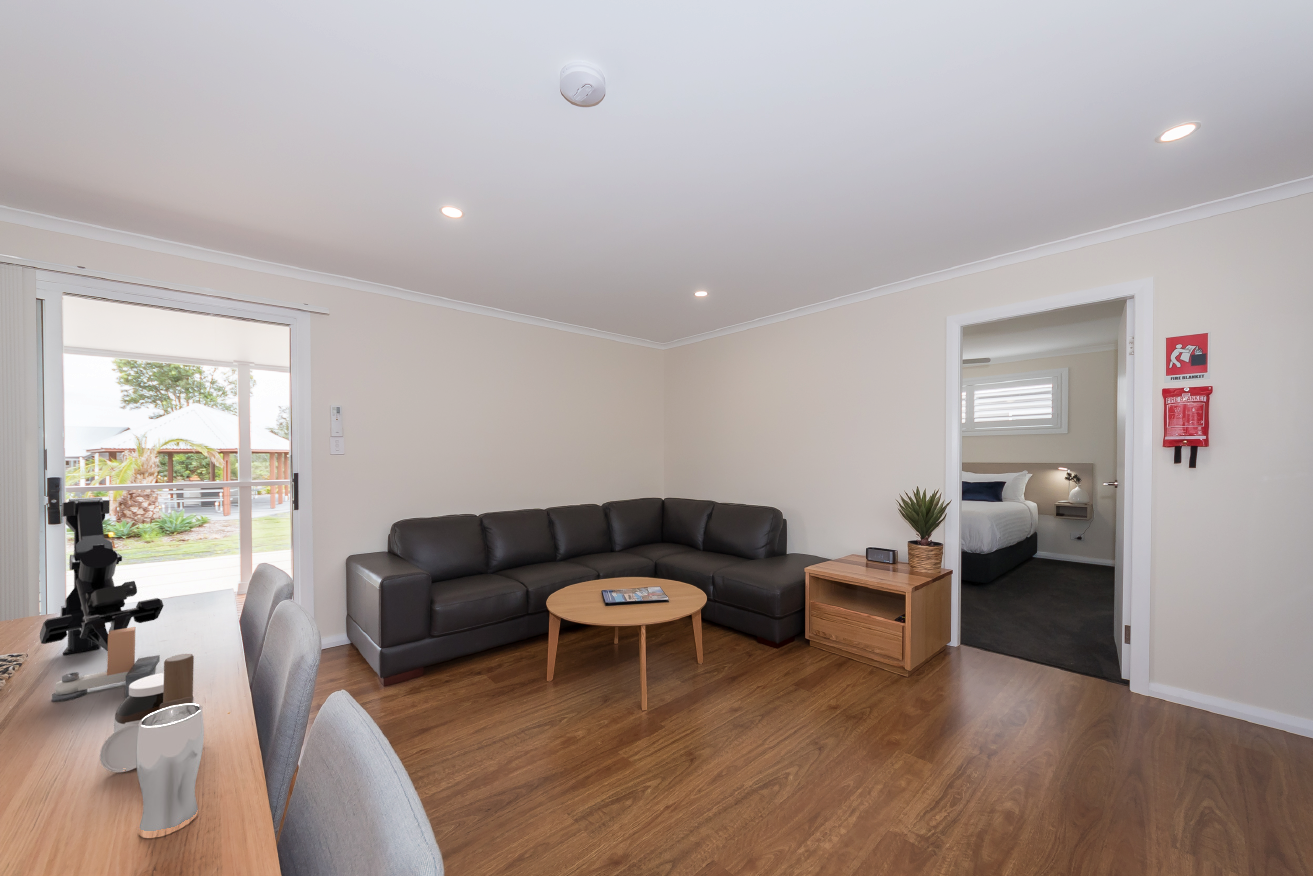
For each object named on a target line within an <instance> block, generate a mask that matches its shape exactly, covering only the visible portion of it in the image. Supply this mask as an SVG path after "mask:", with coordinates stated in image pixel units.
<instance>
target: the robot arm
mask: <svg viewBox="0 0 1313 876" xmlns="http://www.w3.org/2000/svg"><path fill="white" fill-rule="evenodd" d="M108 514H110V500H109V499H107V500H106V499H104V500H103V497H101V496H98V497H82V498H68V501H65V502H62V503H61V517H62V518H63V517H64V518H65V525H66V526H67V527H68V528H69V529H70V530H71V531H72V533H73V554H70V555H69V563H68V565H69V570H70V571H73V589H72V590H71V592H70V593H69V594H68V596H67V597H66V598H65V600H64V605H62V606H60V607H61V608H60V615H59V616H56V617H51V618H47V619H46V620H44V622H43V624H42V626H41V629H40V632H39V640H40V644H43V645H47V644H51V643H56V642H60V641H63V640H64V639H65V638H66V637H67V646H66V648H65V649H64V651H63V652H62V655H68V654H69V655H70V654H74V653H76V654H77V653H81V652H87V651H88V652H89V651H93V650H98V649H101V648H103V650H105V651H106V652H108V634H109V632H110V631H112V630H118V629H124V628H129V627H128V626H129V624H130V622H131V620H132V618H133V621H134V623H138V624H142V623H146V622H152V621H155V620H157V619H159V616H160V614H161V612H162V610H163V608H164V606H165V605H164V603H163V600H161V599H160V598H158V597H154V598H151V599H145V600H139V601H138V602H137V604H136V606H135V607H133V608H128V609H127V608H126V609H124V610H123V609H122V608H124V607H125V605H126V603H125V601H126V600H127V599H128V598H129V597H135V595H136V594H137V593H138V588H137V584H136V582H135V581H136V580H132V581H125V582H124V583H122V584H121V585H115V582H114V579H113V577H114V575H115V572H116V566H117V565H119V562H123V561H122V560H123V556H122V555H121V554H119V552H118V551H117V550H116V549H115V550H114V548H113V542H112V541H110V540H109V539H107V538H105V535H104V527H103V525H104V520H105V519H106V515H108ZM108 623H110V627H109V629H108V630H107V627H106V626H107V625H106V624H108Z"/></svg>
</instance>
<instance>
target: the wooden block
mask: <svg viewBox="0 0 1313 876" xmlns="http://www.w3.org/2000/svg"><path fill="white" fill-rule="evenodd" d="M194 660H195V657H194V655H193V653H181V654H177V655H173V656H170V657H167V658H166V659H165V660H164V662H163V673H164V691H163V703H161V704H160V710H161V709H164V708H167V707H171V706H176V705H181V704H193V698H194V696H193V695H194V662H195V661H194Z"/></svg>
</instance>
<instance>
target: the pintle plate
mask: <svg viewBox="0 0 1313 876" xmlns="http://www.w3.org/2000/svg"><path fill="white" fill-rule="evenodd" d="M79 677H80V673H79V672H71V673H66V674H64V675H62V676H61V680H62V682H70V681H74V680H77V679H78V678H79ZM88 690H89V689H85V690H80V691H76V692H73V693H69V694H63V695H57V694H56V691H55V692H54V693H52V694H51V702H54V703H55V702H56V703H57V702H65V701H70V700H74V699H77V698H80V697H83V696H85V695H87V693H88Z"/></svg>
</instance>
